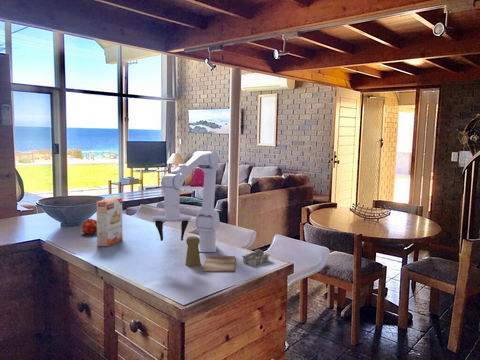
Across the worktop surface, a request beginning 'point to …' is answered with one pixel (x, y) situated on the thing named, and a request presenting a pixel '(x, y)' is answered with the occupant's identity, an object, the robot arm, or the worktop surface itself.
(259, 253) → the egg carton
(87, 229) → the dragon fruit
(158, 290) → the worktop surface
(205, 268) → the board
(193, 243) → the cork
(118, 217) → the cracker box
